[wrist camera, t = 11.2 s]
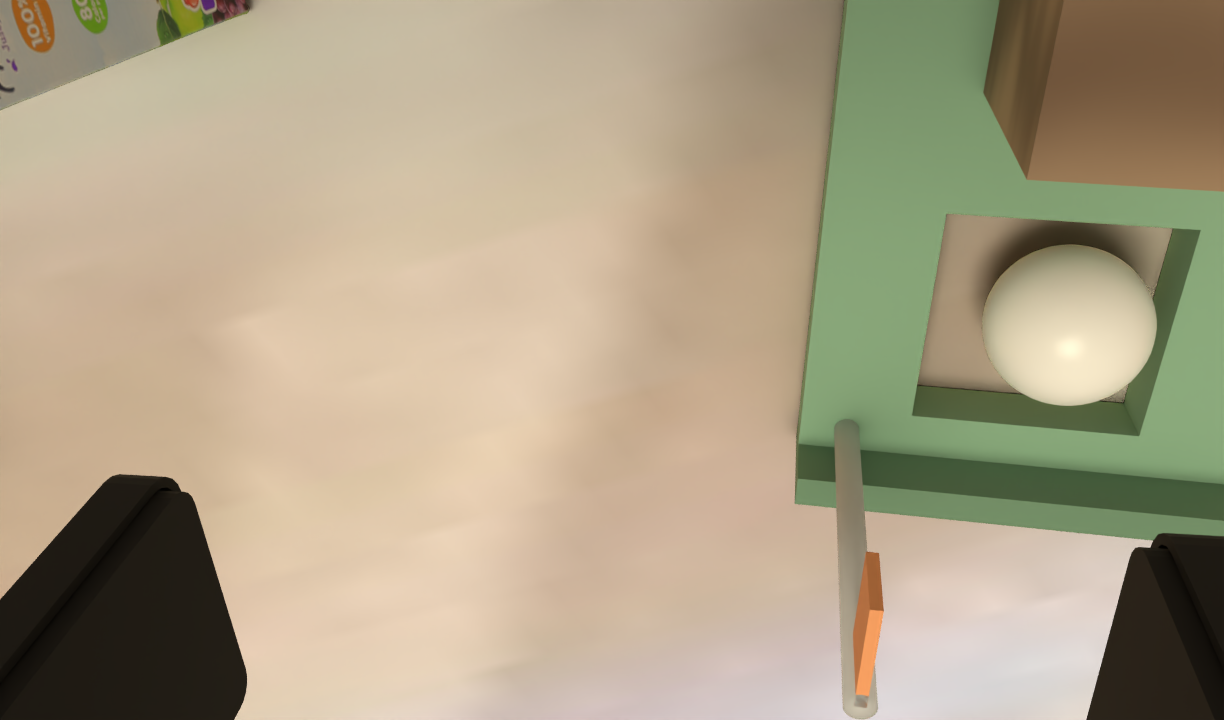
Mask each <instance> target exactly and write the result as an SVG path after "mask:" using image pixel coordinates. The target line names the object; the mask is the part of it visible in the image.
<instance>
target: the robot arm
mask: <svg viewBox="0 0 1224 720" xmlns="http://www.w3.org/2000/svg"><path fill="white" fill-rule="evenodd" d="M246 687H247V673H246V668H245V665H244V662H243V659H242V655H241V652H240V649H239V645H238V642H237V639H236V636H235V632H234V629H233V626H232V623H231V619H230V616H229V613H228V610H227V606H226V603H225V600H224V596H223V593H222V590H221V587H220V583H219V580H218V577H217V574H216V570H215V567H214V564H213V561H212V557H211V554H210V551H209V548H208V544H207V541H206V538H205V534H204V531H203V528H202V525H201V521H200V518H199V515H198V512H197V508H196V505H195V502H194V500H193V498H192V496H191V495H190V494H189V493H186V492H181V490H180V488H179V486H178V484H177V483H176V482H175V481H174V480H173V479H172V478H168V477H157V476H139V475H122V474H119V475H115V476H112V477H110V478H109V479H108V480H107V481H105V482H104V483H103V484H102V486H101V487H100V488H99V489H98V490H97V491H96V492H95V493H94V495H93V496H92V497H91V498H90V499H89V500H88V501H87V502H86V504H85V505H84V506H83V507H82V508H81V509H80V510H79V511H78V513H77V514H76V515H75V516H74V517H73V518H72V519H71V520H70V522H69V523H68V524H67V525H66V526H65V527H64V528H63V529H62V531H61V532H60V533H59V534H58V535H57V536H56V537H55V538H54V540H53V541H52V542H51V543H50V544H49V545H48V546H47V547H46V549H45V550H44V551H43V552H42V553H41V554H40V555H39V556H38V558H37V559H36V560H35V561H34V562H33V563H32V564H31V565H30V567H29V568H28V569H27V570H26V571H25V572H24V573H23V574H22V576H21V577H20V578H19V579H18V580H17V581H16V582H15V584H14V585H13V586H12V587H11V588H10V589H9V590H8V591H7V593H6V594H5V595H4V596H3V597H2V598H1V599H0V720H234V719H235V717H236V715H237V713H238V711H239V710H240V708H241V705H242V703H243V701H244V697H245V693H246ZM1086 720H1224V536H1210V535H1193V534H1175V533H1161V534H1158V535H1157V536H1156V537H1155V539H1154V540H1153V543H1152V545H1151V548H1144V547H1138V548H1135V549H1134V550H1133V552H1132V554H1131V556H1130V559H1129V563H1128V567H1127V570H1126V574H1125V578H1124V582H1123V585H1122V589H1121V593H1120V596H1119V600H1118V604H1117V608H1116V611H1115V615H1114V619H1113V623H1112V626H1111V630H1110V634H1109V637H1108V641H1107V645H1106V649H1105V652H1104V656H1103V660H1102V664H1101V667H1100V671H1099V675H1098V678H1097V682H1096V686H1095V690H1094V693H1093V697H1092V701H1091V705H1090V708H1089V712H1088V716H1087V719H1086Z"/></svg>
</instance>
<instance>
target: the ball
mask: <svg viewBox="0 0 1224 720" xmlns="http://www.w3.org/2000/svg"><path fill="white" fill-rule="evenodd" d="M1156 331H1157V318H1156V311H1155V306H1154V303H1153V299H1152V296H1151V294H1150V292H1149V290H1148V288H1147V286H1146V285H1145V283H1144V282H1143V280H1142V279H1141V278H1140V276H1139V275H1138V274H1137V273H1136V272H1135V271H1134V270H1133V269H1132V268H1131V267H1130V266H1129V265H1128V264H1126V263H1125V262H1124V261H1123V260H1121V259H1119V258H1118V257H1116V256H1114V255H1112V254H1110V253H1108V252H1106V251H1103V250H1100V249H1098V248H1094V247H1090V246H1084V245H1075V244H1066V245H1056V246H1051V247H1047V248H1043V249H1040V250H1037V251H1034V252H1032V253H1030V254H1028V255H1026V256H1024V257H1023V258H1021V259H1019V260H1018V261H1016V262H1015V263H1014V264H1012V265H1011V266H1010V267H1009V268H1008V269H1007V270H1006V271H1005V272H1004V273H1003V274H1002V275H1001V276H1000V277H999V279H998V280H997V281H996V283H995V284H994V286H993V287H992V289H991V291H990V293H989V295H988V297H987V300H986V303H985V306H984V311H983V316H982V336H983V342H984V346H985V350H986V352H987V355H988V357H989V359H990V361H991V363H992V365H993V366H994V368H995V369H996V371H997V372H998V373H999V374H1000V376H1001V377H1002V378H1003V379H1004V380H1005V381H1006V382H1007V383H1008V384H1009V385H1010V386H1012V387H1013V388H1014V389H1016V390H1017V391H1019V392H1020V393H1022V394H1024V395H1026V396H1028V397H1030V398H1032V399H1035V400H1037V401H1040V402H1043V403H1048V404H1053V405H1060V406H1076V405H1084V404H1088V403H1093V402H1096V401H1099V400H1102V399H1104V398H1107V397H1109V396H1111V395H1113V394H1115V393H1116V392H1118V391H1120V390H1121V389H1122V388H1124V387H1125V386H1126V385H1127V384H1129V383H1130V382H1131V381H1132V380H1133V379H1134V378H1135V377H1136V376H1137V375H1138V374H1139V372H1140V371H1141V370H1142V368H1143V367H1144V365H1145V364H1146V362H1147V360H1148V358H1149V356H1150V354H1151V352H1152V349H1153V346H1154V342H1155V337H1156Z"/></svg>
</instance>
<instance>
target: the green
mask: <svg viewBox="0 0 1224 720" xmlns="http://www.w3.org/2000/svg"><path fill="white" fill-rule="evenodd" d="M999 2H1000V0H844V8H843V17H842V27H841V36H840V45H839V54H838V63H837V72H836V81H835V90H834V99H833V108H832V117H831V127H830V136H829V145H828V154H827V163H826V172H825V181H824V190H823V199H822V208H821V218H820V227H819V236H818V245H817V254H816V263H815V272H814V281H813V290H812V299H811V309H810V318H809V327H808V336H807V345H806V354H805V363H804V372H803V381H802V390H801V399H800V409H799V418H798V427H797V436H796V477H795V504H802V505H812V506H822V507H831V508H837V539H838V570H839V602H840V634H841V666H842V697H843V710H844V712H845V713H846V714H847V715H848V716H850V717H852V718H855V719H868V718H870V717H872V716H874V715H875V714H876V712H877V710H878V703H877V688H876V674H875V658H876V652H877V647H878V641H879V635H880V629H881V624H882V618H883V612H884V609H883V597H882V585H881V573H880V561H879V553H873V552H867V542H866V527H865V512H864V511H870V512H880V513H890V514H900V515H910V516H919V517H929V518H939V519H949V520H958V521H968V522H978V523H988V524H997V525H1007V526H1017V527H1027V528H1037V529H1046V530H1056V531H1066V532H1076V533H1085V534H1095V535H1105V536H1115V537H1124V538H1134V539H1144V540H1154V539H1155V537H1156V536H1157V535H1158V534H1161V533H1175V534H1193V535H1210V536H1224V192H1220V191H1204V190H1187V189H1170V188H1153V187H1137V186H1120V185H1103V184H1087V183H1070V182H1053V181H1037V180H1027V179H1026V177H1025V175H1024V173H1023V171H1022V169H1021V167H1020V165H1019V163H1018V161H1017V159H1016V157H1015V155H1014V153H1013V151H1012V149H1011V147H1010V145H1009V143H1008V141H1007V139H1006V137H1005V135H1004V133H1003V131H1002V129H1001V127H1000V125H999V123H998V121H997V119H996V117H995V115H994V113H993V111H992V109H991V107H990V105H989V103H988V101H987V99H986V97H985V95H984V93H983V91H984V85H985V80H986V74H987V69H988V63H989V57H990V52H991V46H992V41H993V35H994V29H995V24H996V18H997V13H998V7H999ZM946 214H960V215H976V216H991V217H1007V218H1022V219H1038V220H1053V221H1069V222H1084V223H1099V224H1115V225H1130V226H1146V227H1161V228H1173V232H1172V235H1171V239H1170V242H1169V246H1168V249H1167V253H1166V256H1165V260H1164V263H1163V267H1162V270H1161V274H1160V277H1159V281H1158V284H1157V288H1156V291H1155V295H1154V298H1153V303H1154V306H1155V311H1156V318H1157V331H1156V337H1155V342H1154V346H1153V349H1152V352H1151V354H1150V356H1149V358H1148V360H1147V362H1146V364H1145V365H1144V367H1143V368H1142V370H1141V371H1140V372H1139V374H1138V375H1137V376H1136V377H1135V378H1134V379H1133V380H1132V381H1131V382H1130V383H1129V386H1128V390H1127V393H1126V397H1125V400H1124V403H1114V402H1103V401H1096V402H1093V403H1088V404H1084V405H1076V406H1060V405H1053V404H1048V403H1043V402H1040V401H1037V400H1035V399H1032V398H1030V397H1028V396H1026V395H1021V394H1010V393H998V392H987V391H975V390H963V389H952V388H940V387H929V386H917V383H918V377H919V371H920V365H921V359H922V354H923V348H924V342H925V336H926V330H927V324H928V319H929V313H930V307H931V301H932V295H933V289H934V284H935V278H936V272H937V266H938V260H939V254H940V249H941V243H942V237H943V231H944V225H945V219H946Z"/></svg>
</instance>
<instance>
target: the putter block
mask: <svg viewBox="0 0 1224 720" xmlns="http://www.w3.org/2000/svg"><path fill="white" fill-rule="evenodd" d="M983 93H984V95H985V97H986V99H987V101H988V103H989V105H990V107H991V109H992V111H993V113H994V115H995V117H996V119H997V121H998V123H999V125H1000V127H1001V129H1002V131H1003V133H1004V135H1005V137H1006V139H1007V141H1008V143H1009V145H1010V147H1011V149H1012V151H1013V153H1014V155H1015V157H1016V159H1017V161H1018V163H1019V165H1020V167H1021V169H1022V171H1023V173H1024V175H1025V177H1026V179H1027V180H1037V181H1053V182H1070V183H1087V184H1103V185H1120V186H1137V187H1153V188H1170V189H1187V190H1204V191H1220V192H1224V0H1000V2H999V7H998V13H997V18H996V24H995V29H994V35H993V41H992V46H991V52H990V57H989V63H988V69H987V74H986V80H985V85H984V91H983Z"/></svg>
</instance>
